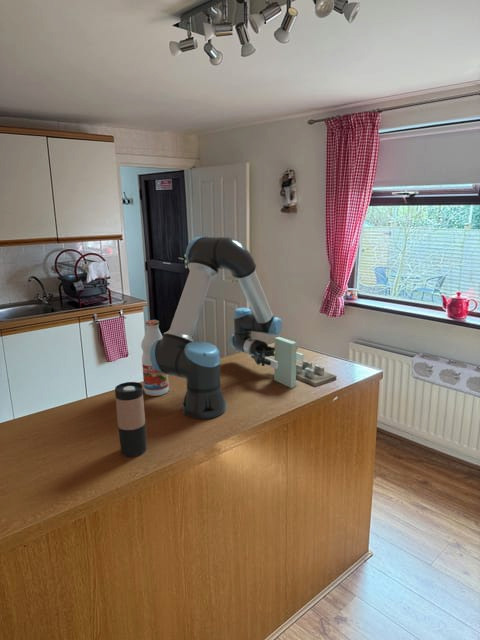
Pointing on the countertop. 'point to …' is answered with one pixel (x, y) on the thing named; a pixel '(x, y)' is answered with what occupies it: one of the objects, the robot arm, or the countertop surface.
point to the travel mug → (131, 418)
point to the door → (285, 361)
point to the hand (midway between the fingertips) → (290, 361)
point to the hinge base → (313, 374)
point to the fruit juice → (153, 379)
